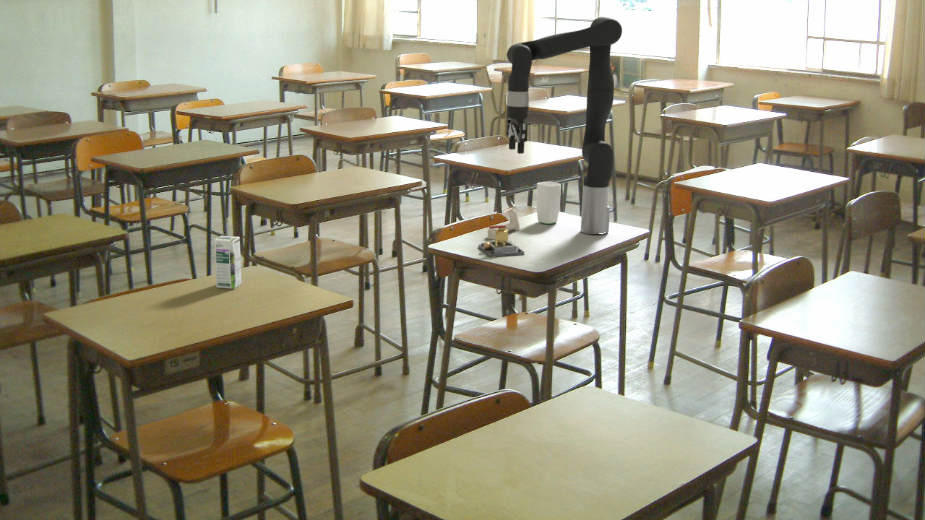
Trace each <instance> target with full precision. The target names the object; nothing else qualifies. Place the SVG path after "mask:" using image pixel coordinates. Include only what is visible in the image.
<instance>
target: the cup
mask: <svg viewBox="0 0 925 520" xmlns="http://www.w3.org/2000/svg"><path fill="white" fill-rule="evenodd" d="M561 191H562V184H561V183H558V182H554V181H548V180H547V181H542V182H537V183H536V214H537V221H538V222H539V223H541V224H543V225H551V224H556V223H557V222H558V218H559V212H560V205H561V193H562V192H561Z"/></svg>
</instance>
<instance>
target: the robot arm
mask: <svg viewBox="0 0 925 520" xmlns="http://www.w3.org/2000/svg"><path fill="white" fill-rule="evenodd" d="M622 34H623V27H622V25H621V23H620V22H619V21H618V20H617V19H615V18H612V17H608V16H600V17H597V18H595V19H594V20H593V21H592V23H591V24H590V26H588V27H586V28H582V29H579V30H573V31H569V32H562V33H556V34H555V33H554V34H552V35H551V34H550V35H548V36H544V37H542V38H537V39H535V40H534V39H533V40H529V41H523V42H518V43H516V44H512V45H511V46H510V47H509V48H508V49H507V51H506V58H507V60H508V62H509V63H510V64H511V73H510V74H509V75H508V80H507V81H508V82H507V96H506V119H507V120H506V134H505V135H506V137H507V138H508V149H509V150H510V151H511V150H512V151H513V150H516V141H517V150H516V151H517V154H524V153H525V143H526V142H528V132H529V131H528V127H529V126H528V125H529V124H528V123H524V122H525V121H524V120H527V119H528V118H529V109H530V108H529V107H530V105H529V104H530V95H529V86H530V85H529V83H530V74H531V70H532V63H533V61H535V60H546V59H550V58H553V57H558V56H561V55H563V54H566V53H567V54H568V53H570V52H575V51H579V50H583V49H587V48H589V65H588V76H587V77H588V78H587V89H586V91H587V93H586V109H585V112H586V113H585V129H584V134H583V135H584V137H583V139H582V140H583V141H582V146H581V147H582V149H581V155H582V158H583V160H584V162H586V163H587V172H586V175H585V176H583V179H582V180H583V182H582V201H581V202H582V203H581V216H580V218H581V219H580V232H581V234H582V233H583V234H586V235H590V234H599V233H604V232H610V231H609V229H610V213H611V207H610V206H609V194H610V193H609V192H610V181H611V180H612V176H613V166H614V149H613V147H612V146H611V145H610V144H609V143H608V142H606V140H605V138H606V136H605V135H606V133H605V132H606V124H607V120H608V119H609V116H610V112H611V110H612V108H613V105H614V96H615V93H614V92H615V80H614V78H615V77H614V74H613V69H612V65H611V49H612V45H614V44H616V43H617V42H618V41H619V40H620V39H621V37H622Z"/></svg>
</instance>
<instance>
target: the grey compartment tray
mask: <svg viewBox="0 0 925 520" xmlns="http://www.w3.org/2000/svg"><path fill="white" fill-rule="evenodd" d="M478 247H479V250H480V251H482V252H483V251H484V252H485V254H486V255H487V256H488V257H489V256H490V258H492V257H491V256H496V257H508V256H507V255H511V256H521V255H523V256H524V255H525V251H524V250H523V249H522V248H520V247H519V246H517V245H516V244H515V243H513V242H512V241H510V240H509V239H508V246H499V247H495V240H491V241H490V240H487V241H486V242H482V243H480V244H478ZM478 247H477V248H478ZM484 252H483V253H484Z"/></svg>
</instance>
